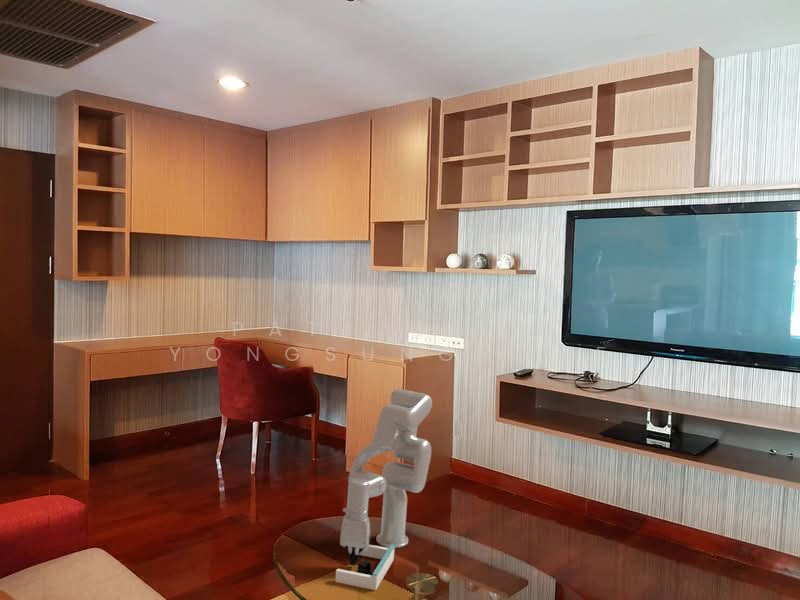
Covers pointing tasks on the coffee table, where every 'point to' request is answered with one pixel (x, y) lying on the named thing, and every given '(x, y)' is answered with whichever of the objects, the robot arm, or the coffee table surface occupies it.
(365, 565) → the black irregular block
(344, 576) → the frame
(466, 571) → the coffee table surface
